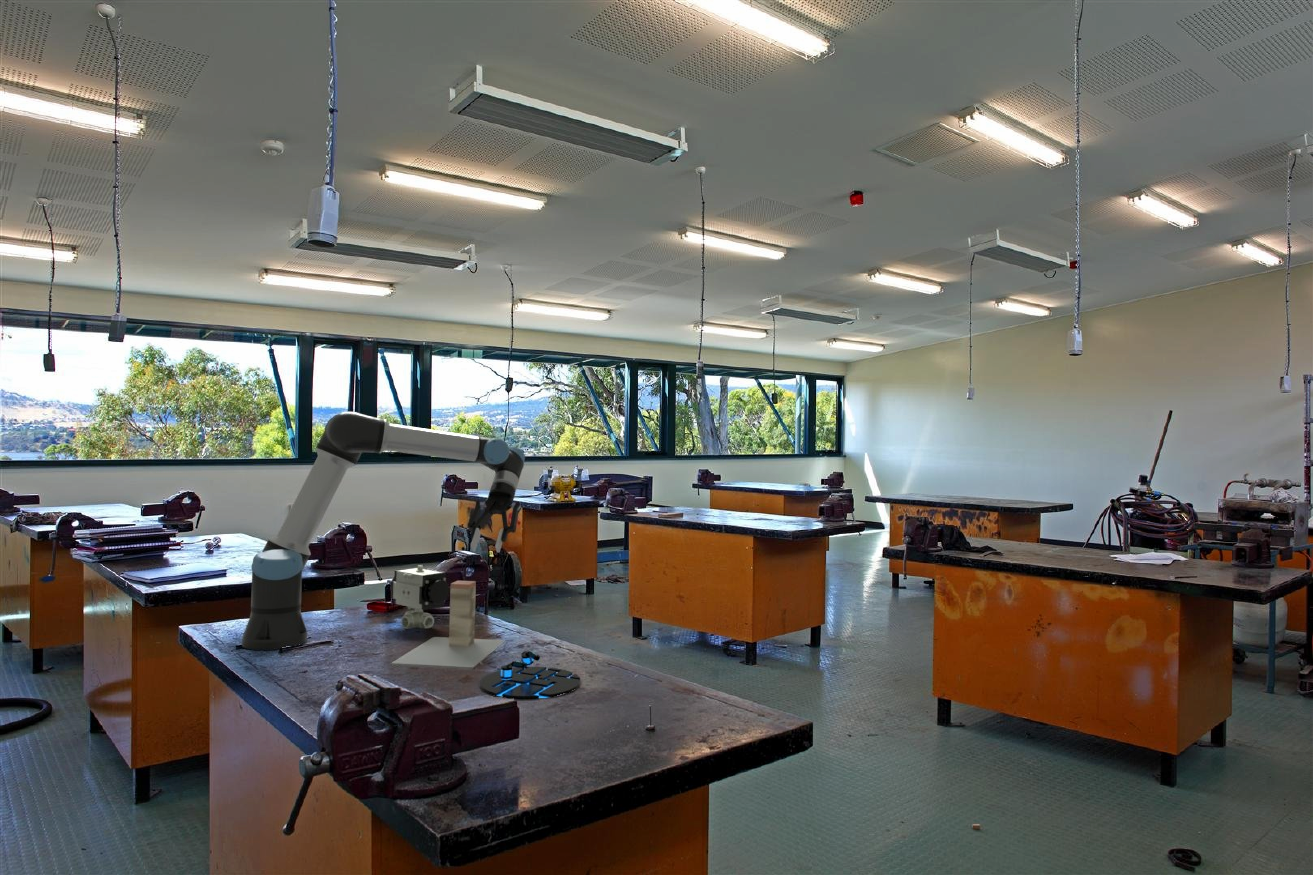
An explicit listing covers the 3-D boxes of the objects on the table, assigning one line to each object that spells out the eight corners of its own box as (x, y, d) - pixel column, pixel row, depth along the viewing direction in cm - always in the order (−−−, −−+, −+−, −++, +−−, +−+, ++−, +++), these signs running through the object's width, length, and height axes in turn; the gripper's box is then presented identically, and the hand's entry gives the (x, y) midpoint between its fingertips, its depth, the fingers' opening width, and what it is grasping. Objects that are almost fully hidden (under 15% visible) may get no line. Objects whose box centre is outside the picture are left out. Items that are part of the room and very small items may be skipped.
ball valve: (384, 625, 219) (386, 564, 219) (409, 621, 226) (411, 561, 226) (424, 635, 209) (426, 570, 209) (449, 630, 215) (450, 567, 216)
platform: (596, 677, 175) (597, 649, 175) (551, 706, 154) (552, 674, 154) (512, 666, 182) (513, 639, 182) (459, 692, 161) (459, 661, 162)
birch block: (455, 641, 201) (457, 580, 201) (474, 642, 200) (475, 581, 201) (448, 646, 196) (450, 583, 196) (467, 646, 195) (469, 584, 196)
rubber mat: (433, 639, 205) (433, 636, 205) (505, 642, 203) (505, 640, 203) (390, 665, 179) (390, 662, 179) (473, 669, 177) (473, 667, 177)
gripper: (536, 498, 234) (520, 558, 217) (475, 496, 236) (454, 556, 219) (532, 481, 229) (516, 541, 212) (469, 479, 230) (448, 539, 214)
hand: (485, 549), depth 215 cm, fingers open, 6 cm apart
